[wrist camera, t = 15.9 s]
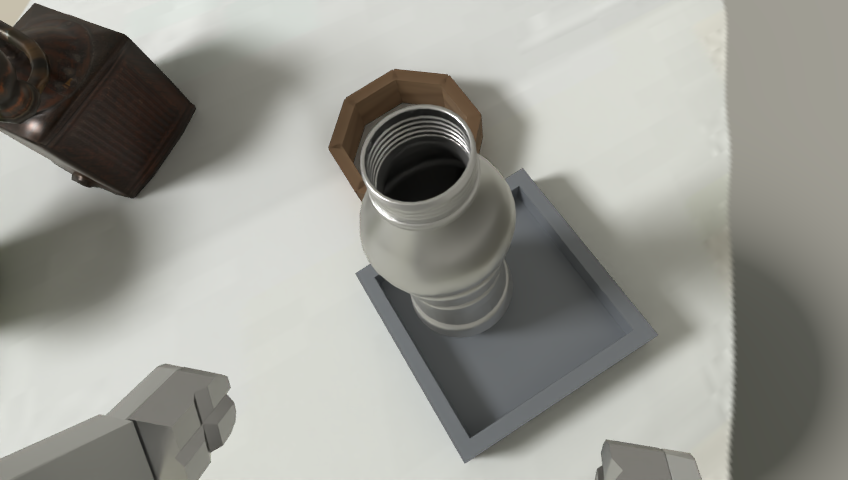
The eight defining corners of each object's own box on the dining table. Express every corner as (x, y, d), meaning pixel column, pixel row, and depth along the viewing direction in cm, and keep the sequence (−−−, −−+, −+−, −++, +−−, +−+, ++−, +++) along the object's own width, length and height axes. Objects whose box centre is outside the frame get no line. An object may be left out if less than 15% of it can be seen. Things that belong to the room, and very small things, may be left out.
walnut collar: (506, 165, 37) (506, 145, 34) (386, 240, 37) (376, 226, 34) (432, 72, 41) (427, 48, 38) (323, 139, 40) (309, 119, 38)
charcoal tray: (646, 340, 31) (658, 335, 29) (467, 459, 31) (464, 463, 28) (521, 184, 36) (522, 168, 34) (365, 282, 36) (355, 273, 33)
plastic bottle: (531, 307, 32) (573, 169, 14) (448, 362, 32) (375, 297, 13) (477, 234, 35) (451, 31, 16) (399, 285, 34) (280, 138, 16)
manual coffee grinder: (49, 169, 44) (-229, 22, 27) (119, 75, 47) (-95, -113, 30) (175, 230, 40) (-62, 100, 23) (244, 122, 42) (77, -65, 26)
